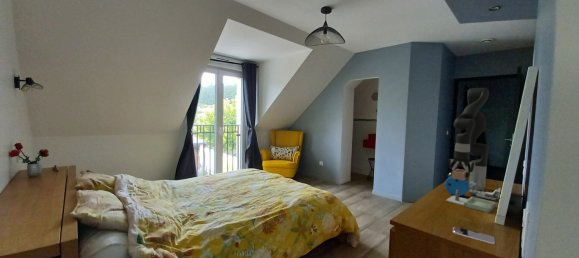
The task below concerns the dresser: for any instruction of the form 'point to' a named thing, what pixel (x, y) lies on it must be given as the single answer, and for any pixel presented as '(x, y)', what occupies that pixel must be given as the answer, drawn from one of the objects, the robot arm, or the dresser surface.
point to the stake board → (452, 199)
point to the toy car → (484, 195)
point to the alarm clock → (456, 185)
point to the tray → (479, 204)
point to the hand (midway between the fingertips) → (460, 176)
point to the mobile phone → (474, 235)
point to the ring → (459, 174)
